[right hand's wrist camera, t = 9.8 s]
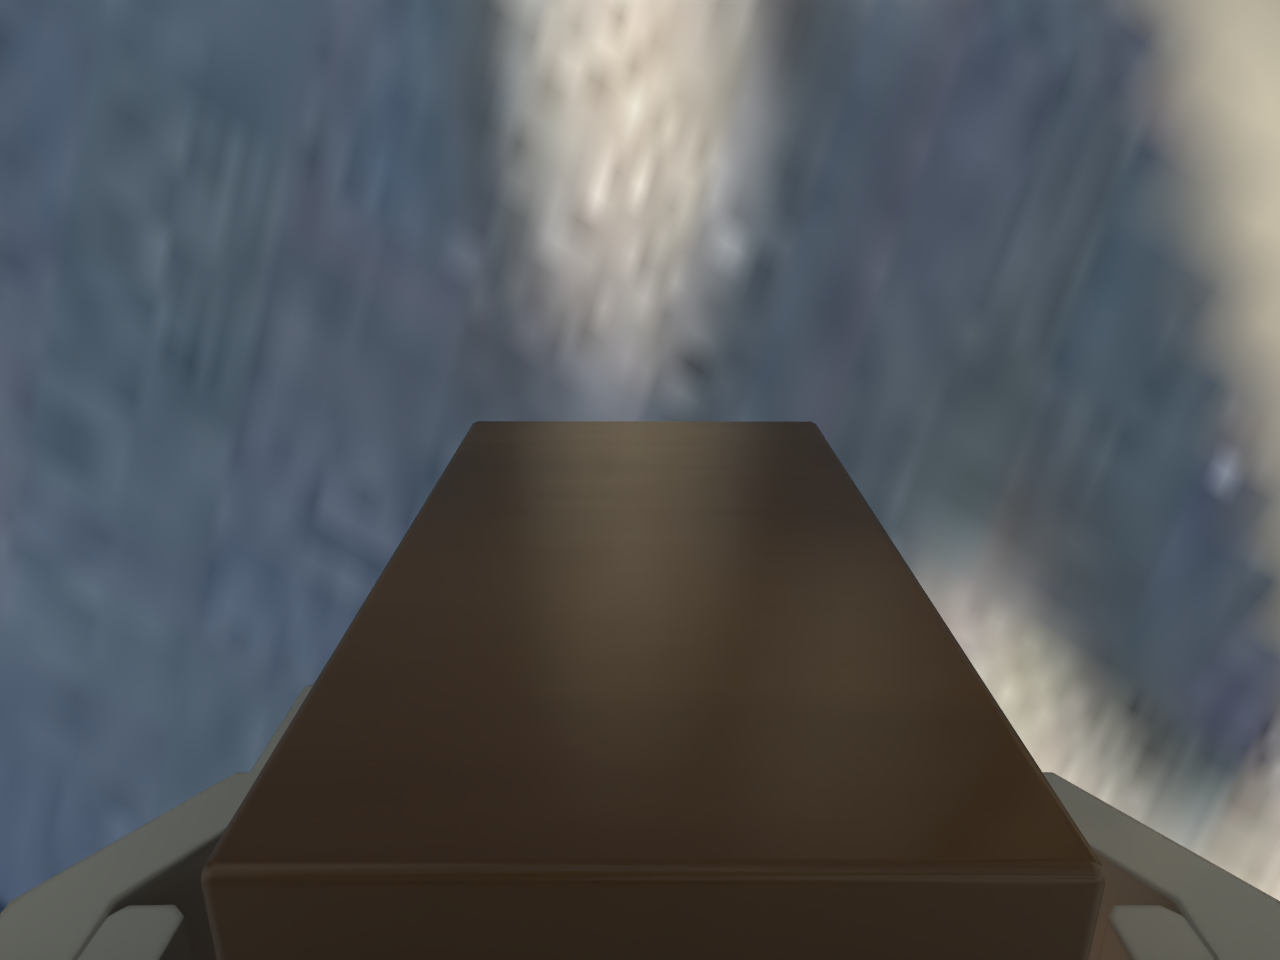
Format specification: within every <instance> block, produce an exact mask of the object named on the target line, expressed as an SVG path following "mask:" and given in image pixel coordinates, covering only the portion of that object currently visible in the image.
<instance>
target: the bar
mask: <svg viewBox="0 0 1280 960" xmlns="http://www.w3.org/2000/svg"><path fill="white" fill-rule="evenodd" d="M201 887H202V892H203V897H204V901H205V906H206V911H207V916H208V920H209V925H210V930H211V935H212V939H213V944H214V949H215V954H216V959H217V960H1088V959H1089V955H1090V950H1091V946H1092V941H1093V937H1094V932H1095V928H1096V924H1097V919H1098V915H1099V910H1100V906H1101V901H1102V897H1103V893H1104V888H1105V876H1104V871H1103V868H1102V864H1101V862H1100V861H1099V859H1098V857H1097V856H1096V854H1095V853H1094V851H1093V850H1092V848H1091V847H1090V845H1089V844H1088V842H1087V841H1086V839H1085V837H1084V836H1083V834H1082V833H1081V831H1080V830H1079V828H1078V827H1077V825H1076V824H1075V822H1074V821H1073V819H1072V817H1071V816H1070V814H1069V813H1068V811H1067V810H1066V808H1065V807H1064V805H1063V804H1062V802H1061V801H1060V799H1059V797H1058V796H1057V794H1056V793H1055V791H1054V790H1053V788H1052V787H1051V785H1050V784H1049V782H1048V781H1047V779H1046V777H1045V776H1044V774H1043V773H1042V771H1041V770H1040V768H1039V767H1038V765H1037V764H1036V762H1035V761H1034V759H1033V757H1032V756H1031V754H1030V753H1029V751H1028V750H1027V748H1026V747H1025V745H1024V744H1023V742H1022V741H1021V739H1020V737H1019V736H1018V734H1017V733H1016V731H1015V730H1014V728H1013V727H1012V725H1011V724H1010V722H1009V721H1008V719H1007V717H1006V716H1005V714H1004V713H1003V711H1002V710H1001V708H1000V707H999V705H998V704H997V702H996V701H995V699H994V697H993V696H992V694H991V693H990V691H989V690H988V688H987V687H986V685H985V684H984V682H983V681H982V679H981V677H980V676H979V674H978V673H977V671H976V670H975V668H974V667H973V665H972V664H971V662H970V661H969V659H968V657H967V656H966V654H965V653H964V651H963V650H962V648H961V647H960V645H959V644H958V642H957V641H956V639H955V637H954V636H953V634H952V633H951V631H950V630H949V628H948V627H947V625H946V624H945V622H944V621H943V619H942V617H941V616H940V614H939V613H938V611H937V610H936V608H935V607H934V605H933V604H932V602H931V601H930V599H929V598H928V596H927V594H926V593H925V591H924V590H923V588H922V587H921V585H920V584H919V582H918V581H917V579H916V578H915V576H914V574H913V573H912V571H911V570H910V568H909V567H908V565H907V564H906V562H905V561H904V559H903V558H902V556H901V554H900V553H899V551H898V550H897V548H896V547H895V545H894V544H893V542H892V541H891V539H890V538H889V536H888V534H887V533H886V531H885V530H884V528H883V527H882V525H881V524H880V522H879V521H878V519H877V518H876V516H875V514H874V513H873V511H872V510H871V508H870V507H869V505H868V504H867V502H866V501H865V499H864V498H863V496H862V494H861V493H860V491H859V490H858V488H857V487H856V485H855V484H854V482H853V481H852V479H851V478H850V476H849V474H848V473H847V471H846V470H845V468H844V467H843V465H842V464H841V462H840V461H839V459H838V458H837V456H836V454H835V453H834V451H833V450H832V448H831V447H830V445H829V444H828V442H827V441H826V439H825V438H824V436H823V434H822V433H821V431H820V430H819V428H818V427H817V425H816V424H815V423H812V422H476V423H473V425H472V426H471V428H470V430H469V431H468V433H467V435H466V436H465V438H464V439H463V441H462V443H461V444H460V446H459V448H458V449H457V451H456V453H455V454H454V456H453V457H452V459H451V461H450V462H449V464H448V466H447V467H446V469H445V471H444V472H443V474H442V475H441V477H440V479H439V480H438V482H437V484H436V485H435V487H434V489H433V490H432V492H431V493H430V495H429V497H428V498H427V500H426V502H425V503H424V505H423V507H422V508H421V510H420V512H419V513H418V515H417V516H416V518H415V520H414V521H413V523H412V525H411V526H410V528H409V530H408V531H407V533H406V534H405V536H404V538H403V539H402V541H401V543H400V544H399V546H398V548H397V549H396V551H395V552H394V554H393V556H392V557H391V559H390V561H389V562H388V564H387V566H386V567H385V569H384V570H383V572H382V574H381V575H380V577H379V579H378V580H377V582H376V584H375V585H374V587H373V588H372V590H371V592H370V593H369V595H368V597H367V598H366V600H365V602H364V603H363V605H362V606H361V608H360V610H359V611H358V613H357V615H356V616H355V618H354V620H353V621H352V623H351V625H350V626H349V628H348V629H347V631H346V633H345V634H344V636H343V638H342V639H341V641H340V643H339V644H338V646H337V647H336V649H335V651H334V652H333V654H332V656H331V657H330V659H329V661H328V662H327V664H326V665H325V667H324V669H323V670H322V672H321V674H320V675H319V677H318V679H317V680H316V682H315V683H314V685H313V687H312V688H311V690H310V692H309V693H308V695H307V697H306V698H305V700H304V701H303V703H302V705H301V706H300V708H299V710H298V711H297V713H296V715H295V716H294V718H293V719H292V721H291V723H290V724H289V726H288V728H287V729H286V731H285V733H284V734H283V736H282V738H281V739H280V741H279V742H278V744H277V746H276V747H275V749H274V751H273V752H272V754H271V756H270V757H269V759H268V760H267V762H266V764H265V765H264V767H263V769H262V770H261V772H260V774H259V775H258V777H257V778H256V780H255V782H254V783H253V785H252V787H251V788H250V790H249V792H248V793H247V795H246V796H245V798H244V800H243V801H242V803H241V805H240V806H239V808H238V810H237V811H236V813H235V814H234V816H233V818H232V819H231V821H230V823H229V824H228V826H227V828H226V829H225V831H224V832H223V834H222V836H221V837H220V839H219V841H218V842H217V844H216V846H215V847H214V849H213V850H212V852H211V854H210V855H209V857H208V859H207V860H206V862H205V864H204V867H203V871H202V874H201Z"/></svg>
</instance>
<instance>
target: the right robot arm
mask: <svg viewBox="0 0 1280 960" xmlns="http://www.w3.org/2000/svg"><path fill="white" fill-rule="evenodd" d="M313 685H314V684H312V685H309V686H307V687H305V688H304V689H303V690H302V691H301V693H300V694H299V696H298V697H297V699H296V701H295V702H294V704H293V705H292V707H291V709H290V710H289V712H288V713H287V715H286V716H285V718H284V720H283V721H282V723H281V724H280V726H279V728H278V729H277V731H276V732H275V734H274V735H273V737H272V739H271V740H270V742H269V743H268V745H267V747H266V748H265V750H264V751H263V753H262V754H261V756H260V758H259V759H258V761H257V762H256V764H255V766H254V767H253V769H252V770H251V772H241V773H235V774H233V775H231V776H230V777H228V778H226V779H224V780H223V781H221V782H219V783H217V784H215V785H214V786H212V787H210V788H208V789H207V790H205V791H203V792H201V793H200V794H198V795H196V796H194V797H193V798H191V799H189V800H187V801H186V802H184V803H182V804H180V805H179V806H177V807H175V808H173V809H172V810H170V811H168V812H166V813H165V814H163V815H161V816H159V817H158V818H156V819H154V820H152V821H151V822H149V823H147V824H145V825H144V826H142V827H140V828H138V829H137V830H135V831H133V832H131V833H130V834H128V835H126V836H124V837H123V838H121V839H119V840H117V841H116V842H114V843H112V844H110V845H109V846H107V847H105V848H103V849H101V850H100V851H98V852H96V853H94V854H93V855H91V856H89V857H87V858H86V859H84V860H82V861H80V862H79V863H77V864H75V865H73V866H72V867H70V868H68V869H66V870H65V871H63V872H61V873H59V874H58V875H56V876H54V877H52V878H51V879H49V880H47V881H45V882H44V883H42V884H40V885H38V886H37V887H35V888H33V889H31V890H30V891H28V892H26V893H24V894H23V895H21V896H19V897H17V898H16V899H14V900H12V901H11V902H10V903H9V904H8V905H7V906H6V907H5V909H4V910H3V911H2V912H1V913H0V960H217V959H216V954H215V949H214V944H213V939H212V935H211V930H210V925H209V920H208V916H207V911H206V906H205V901H204V897H203V892H202V887H201V874H202V871H203V867H204V864H205V862H206V860H207V859H208V857H209V855H210V854H211V852H212V850H213V849H214V847H215V846H216V844H217V842H218V841H219V839H220V837H221V836H222V834H223V832H224V831H225V829H226V828H227V826H228V824H229V823H230V821H231V819H232V818H233V816H234V814H235V813H236V811H237V810H238V808H239V806H240V805H241V803H242V801H243V800H244V798H245V796H246V795H247V793H248V792H249V790H250V788H251V787H252V785H253V783H254V782H255V780H256V778H257V777H258V775H259V774H260V772H261V770H262V769H263V767H264V765H265V764H266V762H267V760H268V759H269V757H270V756H271V754H272V752H273V751H274V749H275V747H276V746H277V744H278V742H279V741H280V739H281V738H282V736H283V734H284V733H285V731H286V729H287V728H288V726H289V724H290V723H291V721H292V719H293V718H294V716H295V715H296V713H297V711H298V710H299V708H300V706H301V705H302V703H303V701H304V700H305V698H306V697H307V695H308V693H309V692H310V690H311V688H312V687H313ZM1042 773H1043V774H1044V776H1045V777H1046V779H1047V781H1048V782H1049V784H1050V785H1051V787H1052V788H1053V790H1054V791H1055V793H1056V794H1057V796H1058V797H1059V799H1060V801H1061V802H1062V804H1063V805H1064V807H1065V808H1066V810H1067V811H1068V813H1069V814H1070V816H1071V817H1072V819H1073V821H1074V822H1075V824H1076V825H1077V827H1078V828H1079V830H1080V831H1081V833H1082V834H1083V836H1084V837H1085V839H1086V841H1087V842H1088V844H1089V845H1090V847H1091V848H1092V850H1093V851H1094V853H1095V854H1096V856H1097V857H1098V859H1099V861H1100V862H1101V864H1102V868H1103V871H1104V876H1105V888H1104V893H1103V897H1102V901H1101V906H1100V910H1099V915H1098V919H1097V924H1096V928H1095V932H1094V937H1093V941H1092V946H1091V950H1090V955H1089V959H1088V960H1280V901H1278V900H1276V899H1275V898H1273V897H1271V896H1269V895H1268V894H1266V893H1264V892H1262V891H1261V890H1259V889H1257V888H1255V887H1253V886H1252V885H1250V884H1248V883H1246V882H1245V881H1243V880H1241V879H1239V878H1238V877H1236V876H1234V875H1232V874H1231V873H1229V872H1227V871H1225V870H1223V869H1222V868H1220V867H1218V866H1216V865H1215V864H1213V863H1211V862H1209V861H1208V860H1206V859H1204V858H1202V857H1201V856H1199V855H1197V854H1195V853H1193V852H1192V851H1190V850H1188V849H1186V848H1185V847H1183V846H1181V845H1179V844H1178V843H1176V842H1174V841H1172V840H1171V839H1169V838H1167V837H1165V836H1163V835H1162V834H1160V833H1158V832H1156V831H1155V830H1153V829H1151V828H1149V827H1148V826H1146V825H1144V824H1142V823H1141V822H1139V821H1137V820H1135V819H1134V818H1132V817H1130V816H1128V815H1126V814H1125V813H1123V812H1121V811H1119V810H1118V809H1116V808H1114V807H1112V806H1111V805H1109V804H1107V803H1105V802H1104V801H1102V800H1100V799H1098V798H1096V797H1095V796H1093V795H1091V794H1089V793H1088V792H1086V791H1084V790H1082V789H1081V788H1079V787H1077V786H1075V785H1074V784H1072V783H1070V782H1068V781H1066V780H1065V779H1063V778H1061V777H1059V776H1058V775H1056V774H1054V773H1049V772H1042Z"/></svg>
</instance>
